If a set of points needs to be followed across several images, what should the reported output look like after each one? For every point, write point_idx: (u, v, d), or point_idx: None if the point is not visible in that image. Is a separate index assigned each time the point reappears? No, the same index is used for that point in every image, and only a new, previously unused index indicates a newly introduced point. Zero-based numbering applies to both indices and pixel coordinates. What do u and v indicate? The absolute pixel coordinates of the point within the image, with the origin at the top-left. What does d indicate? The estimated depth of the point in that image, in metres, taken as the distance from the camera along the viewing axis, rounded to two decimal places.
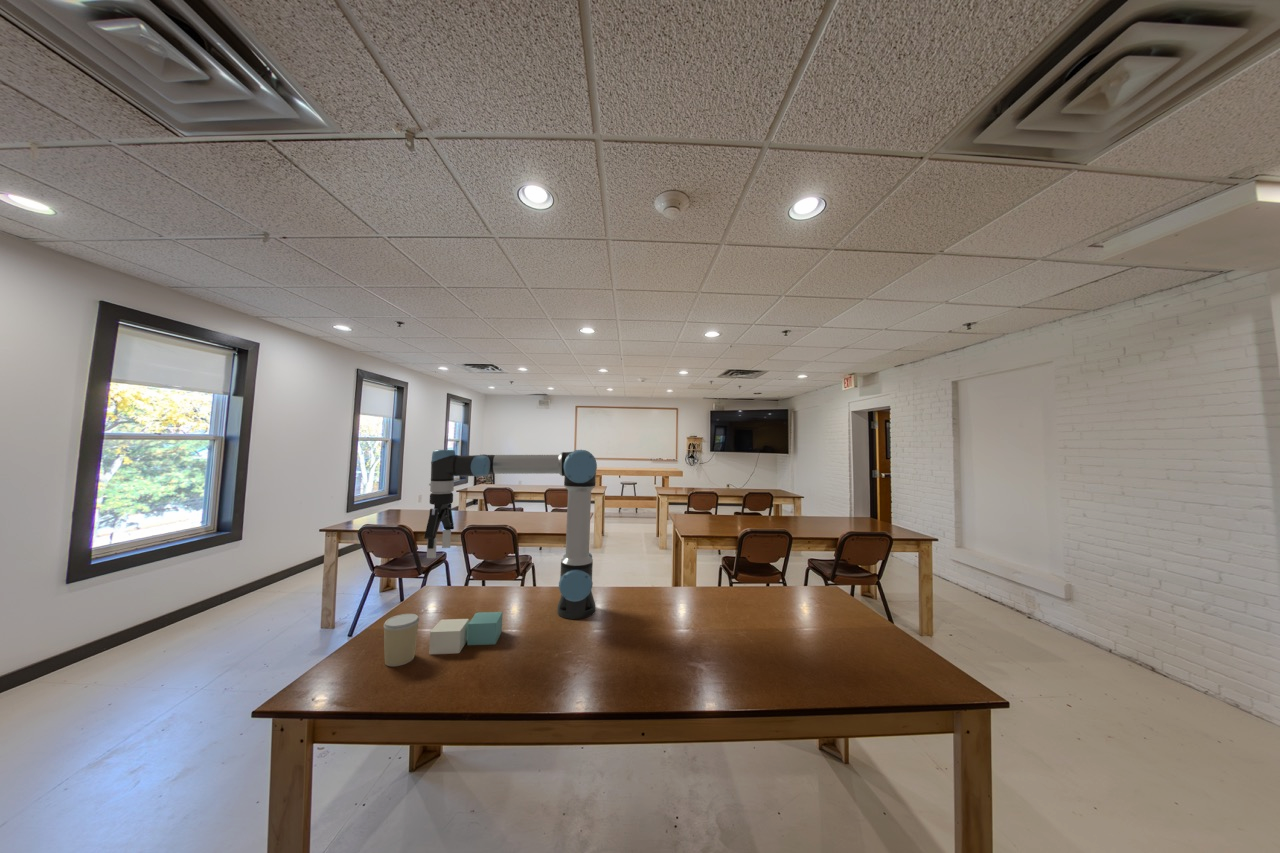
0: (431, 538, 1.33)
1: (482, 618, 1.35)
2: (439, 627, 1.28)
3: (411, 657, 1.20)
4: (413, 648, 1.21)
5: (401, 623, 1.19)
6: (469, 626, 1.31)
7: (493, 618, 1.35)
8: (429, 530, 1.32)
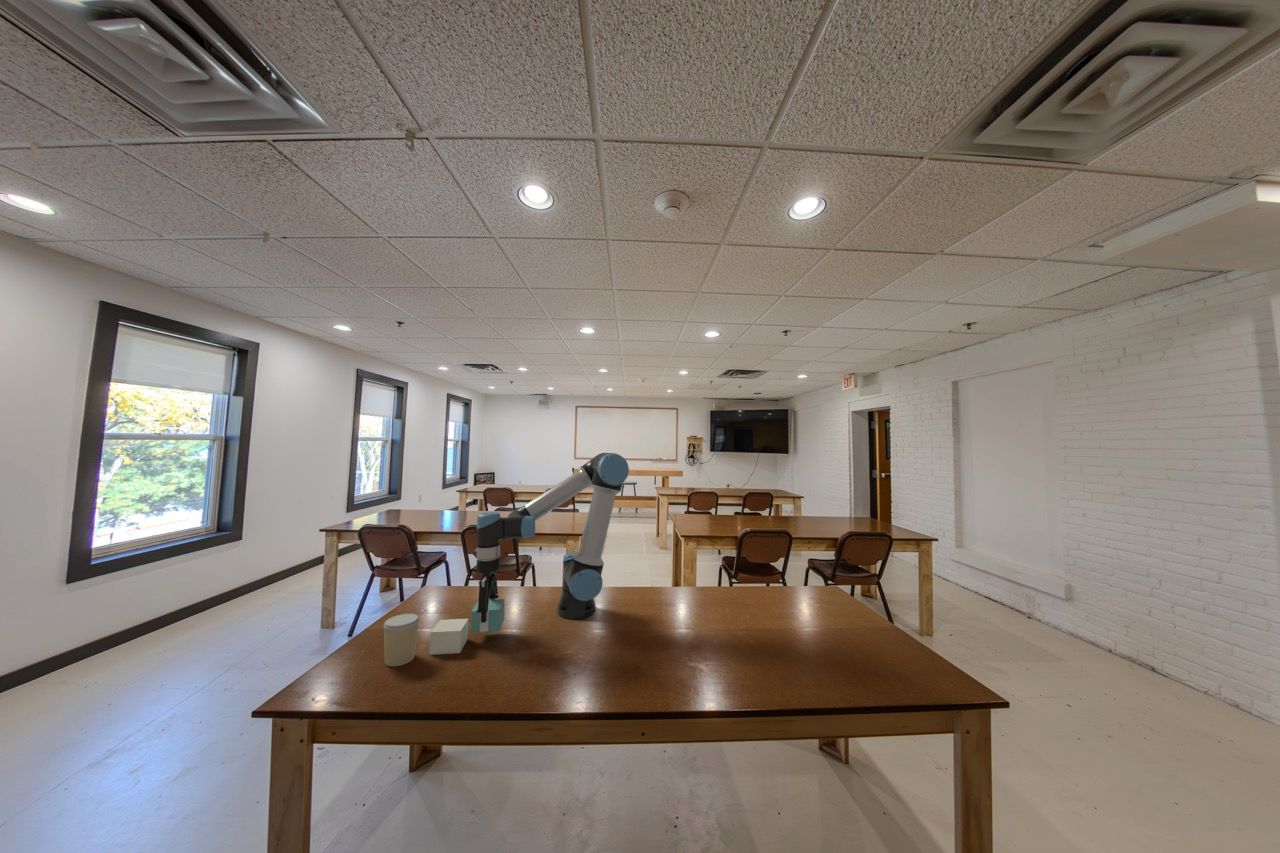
0: (484, 612, 1.29)
1: None
2: (439, 627, 1.28)
3: (411, 657, 1.20)
4: (413, 648, 1.21)
5: (401, 623, 1.19)
6: (472, 614, 1.31)
7: (495, 605, 1.36)
8: (481, 604, 1.28)
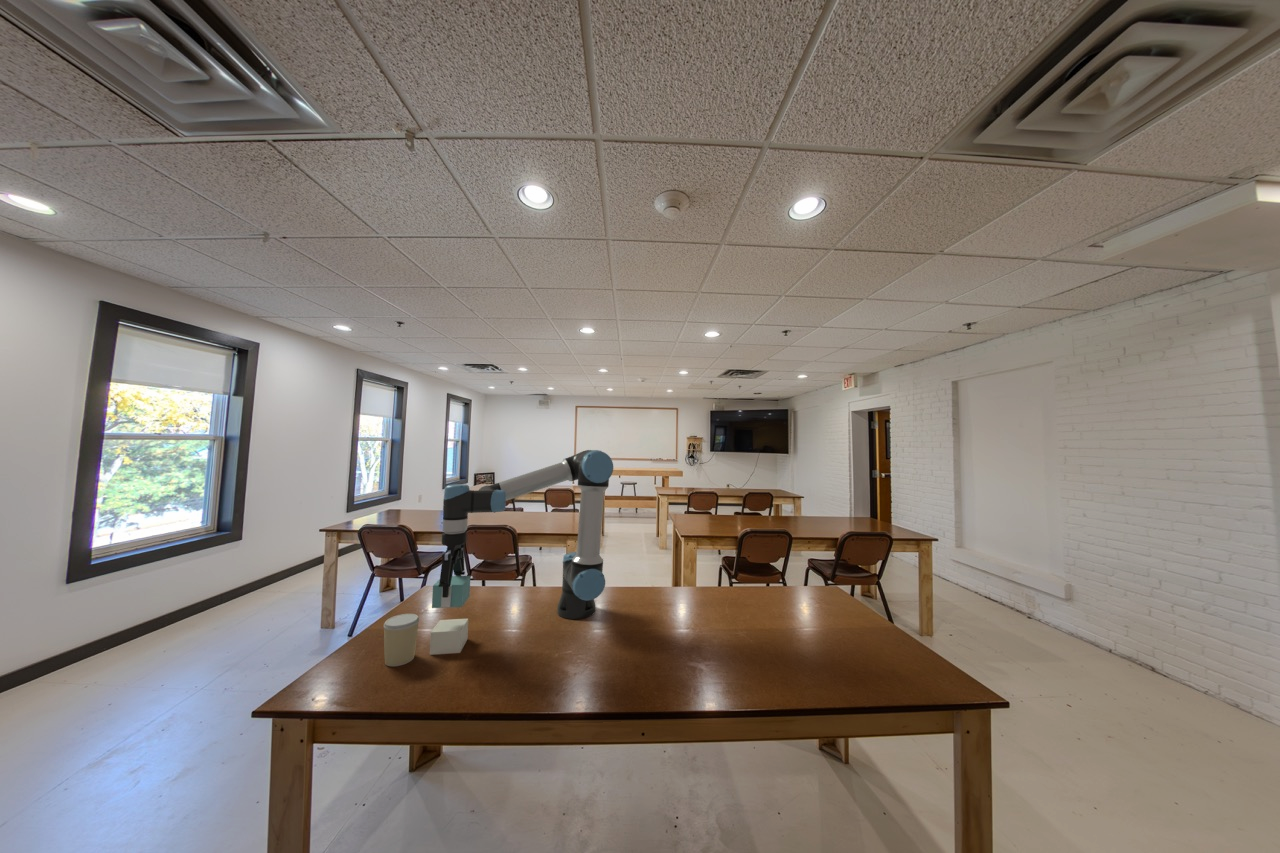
0: (446, 586, 1.24)
1: None
2: (439, 627, 1.28)
3: (411, 657, 1.20)
4: (413, 648, 1.21)
5: (401, 623, 1.19)
6: (434, 588, 1.25)
7: (460, 580, 1.30)
8: (443, 578, 1.23)
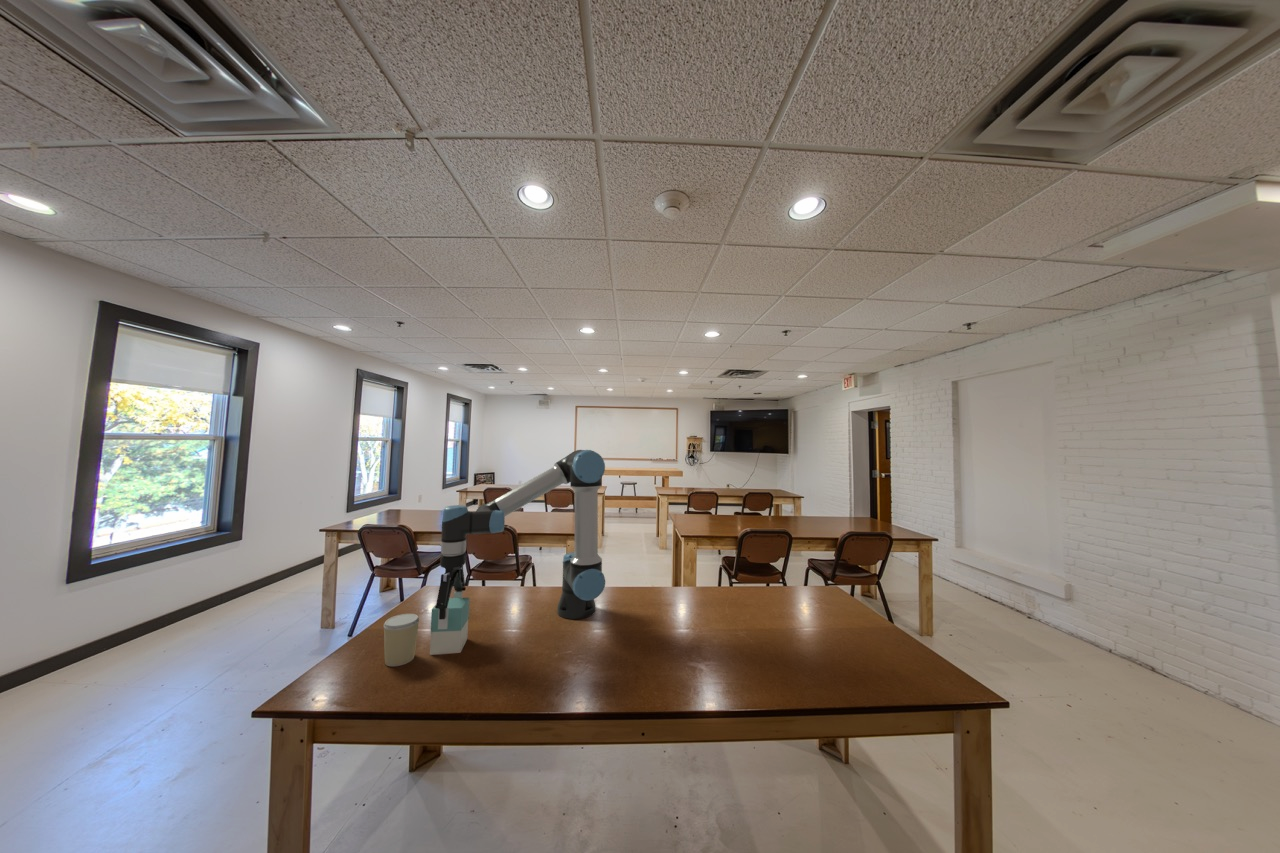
0: None
1: None
2: None
3: (411, 657, 1.20)
4: (413, 648, 1.21)
5: (401, 623, 1.19)
6: (433, 611, 1.25)
7: (459, 603, 1.30)
8: (441, 600, 1.21)
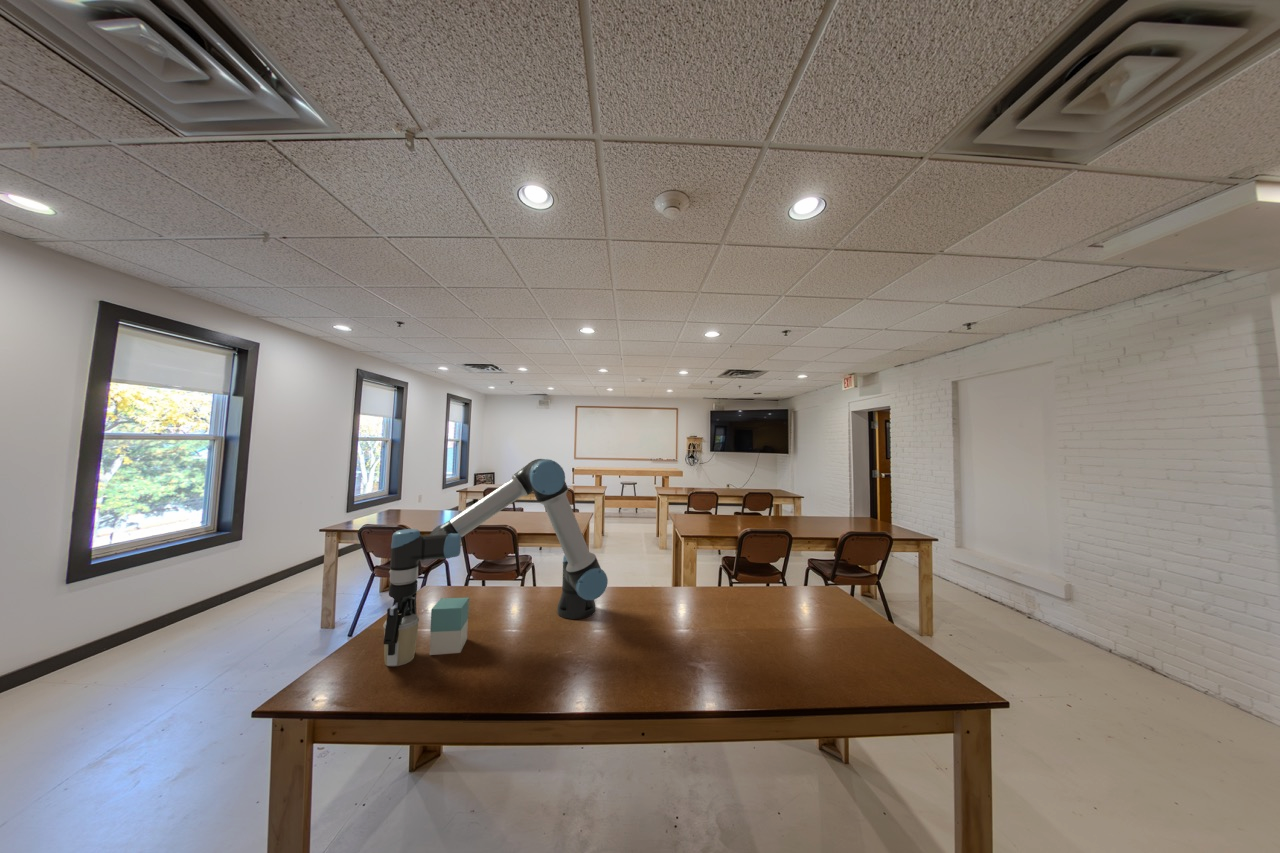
0: (392, 643, 1.15)
1: (447, 603, 1.29)
2: None
3: (411, 657, 1.20)
4: (413, 648, 1.21)
5: (401, 623, 1.19)
6: (432, 611, 1.25)
7: (458, 603, 1.30)
8: (388, 635, 1.14)
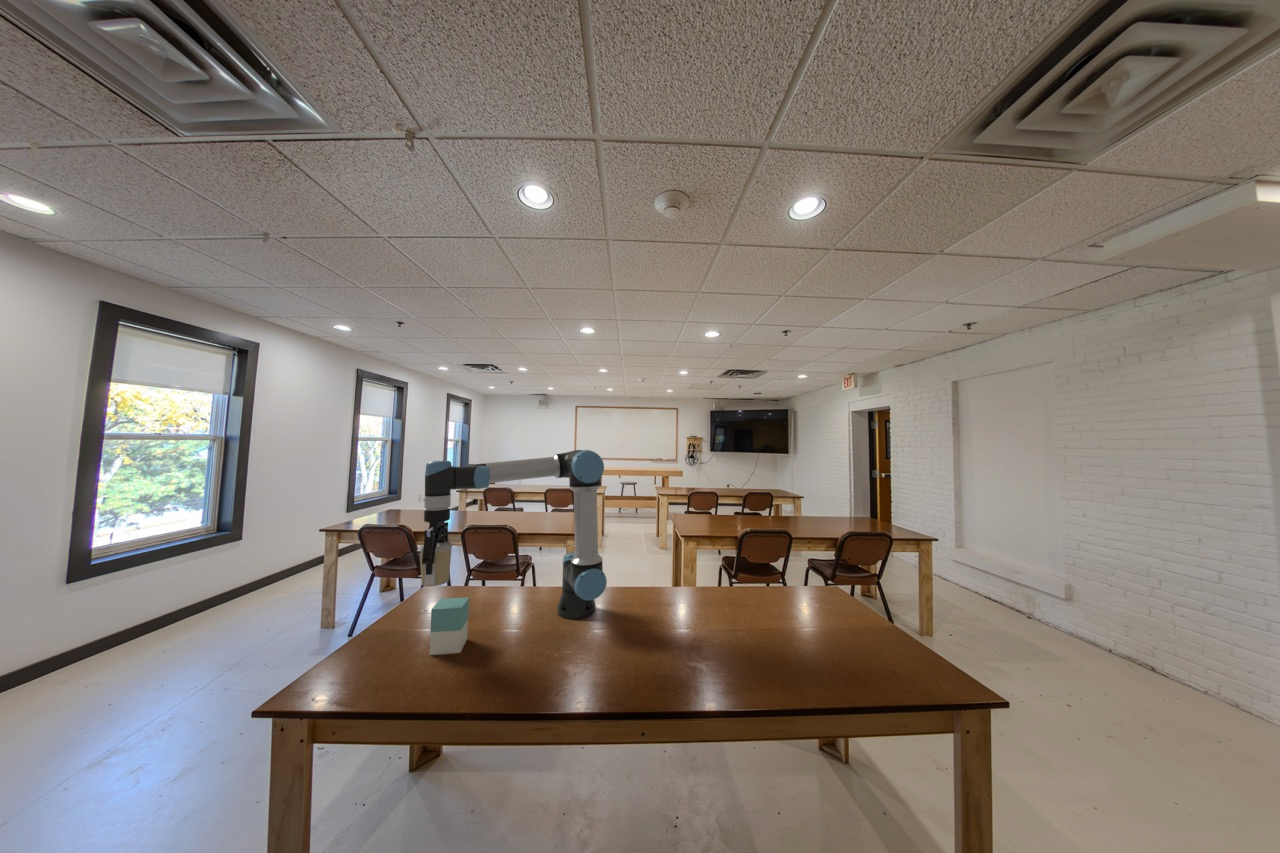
0: (429, 563, 1.21)
1: (447, 603, 1.29)
2: None
3: (446, 579, 1.27)
4: (448, 571, 1.27)
5: None
6: (432, 611, 1.25)
7: (458, 603, 1.30)
8: (426, 555, 1.20)
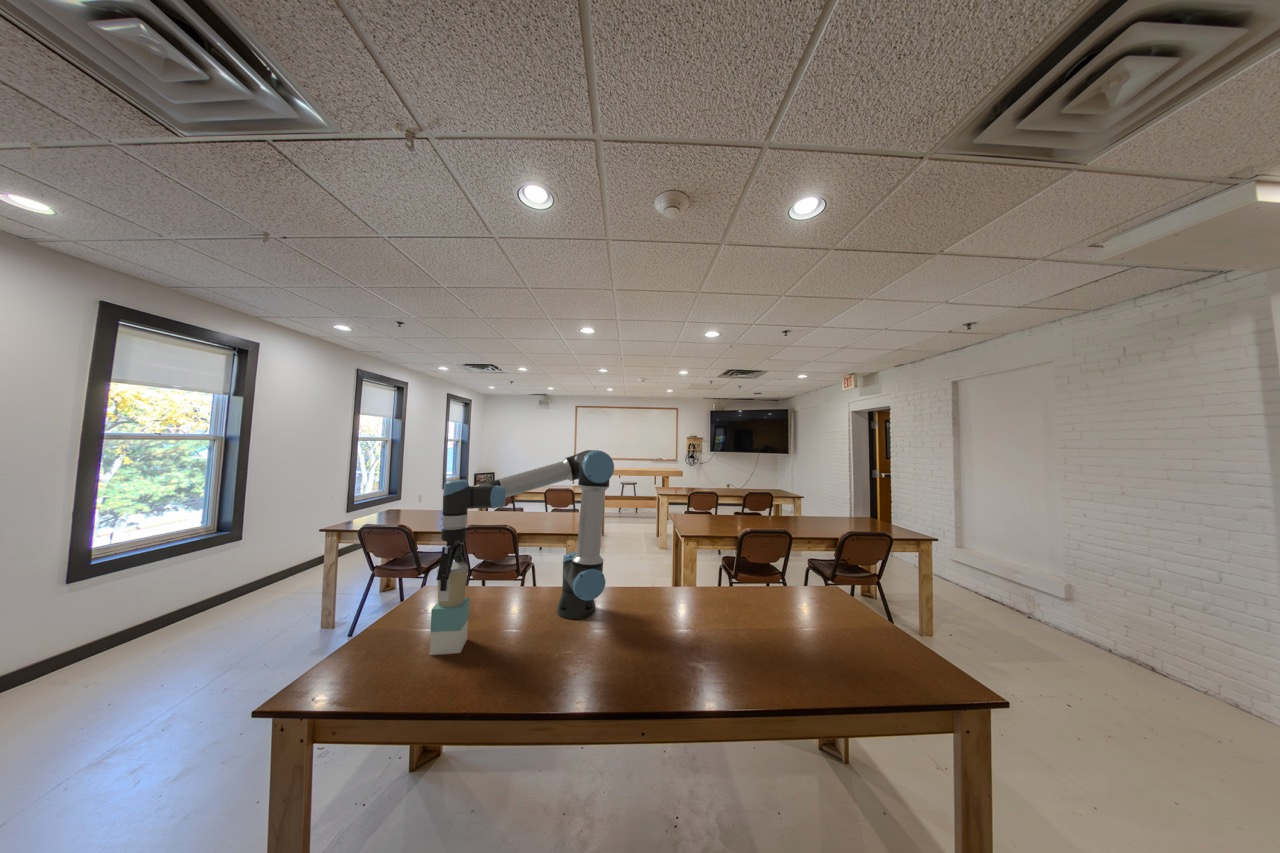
0: (444, 580, 1.22)
1: None
2: None
3: (462, 600, 1.30)
4: (464, 592, 1.30)
5: (453, 568, 1.28)
6: (432, 611, 1.25)
7: None
8: (442, 571, 1.21)
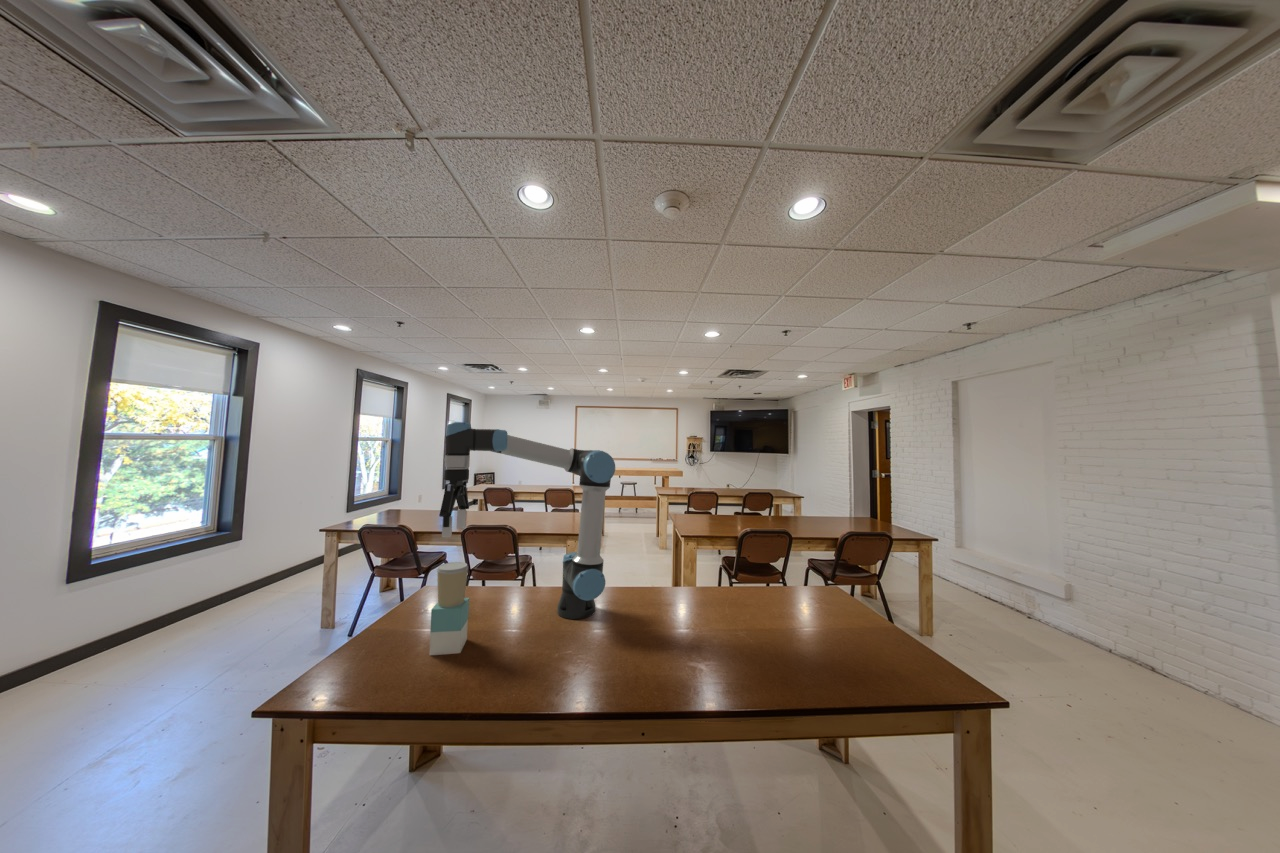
0: (447, 516, 1.23)
1: None
2: None
3: (462, 600, 1.29)
4: (463, 592, 1.30)
5: (453, 568, 1.28)
6: (432, 612, 1.24)
7: None
8: (445, 507, 1.22)
